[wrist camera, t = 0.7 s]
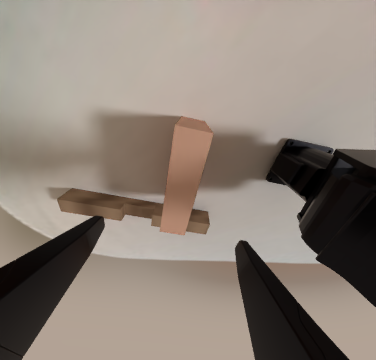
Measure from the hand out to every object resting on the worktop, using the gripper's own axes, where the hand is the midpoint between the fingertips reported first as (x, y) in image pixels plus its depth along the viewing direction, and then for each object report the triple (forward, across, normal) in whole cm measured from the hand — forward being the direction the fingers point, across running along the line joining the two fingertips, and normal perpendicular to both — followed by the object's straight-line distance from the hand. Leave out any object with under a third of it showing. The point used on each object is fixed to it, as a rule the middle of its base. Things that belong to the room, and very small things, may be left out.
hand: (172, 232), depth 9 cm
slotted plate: (+13, 0, 0) cm, 13 cm away
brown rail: (+13, +6, +10) cm, 17 cm away
